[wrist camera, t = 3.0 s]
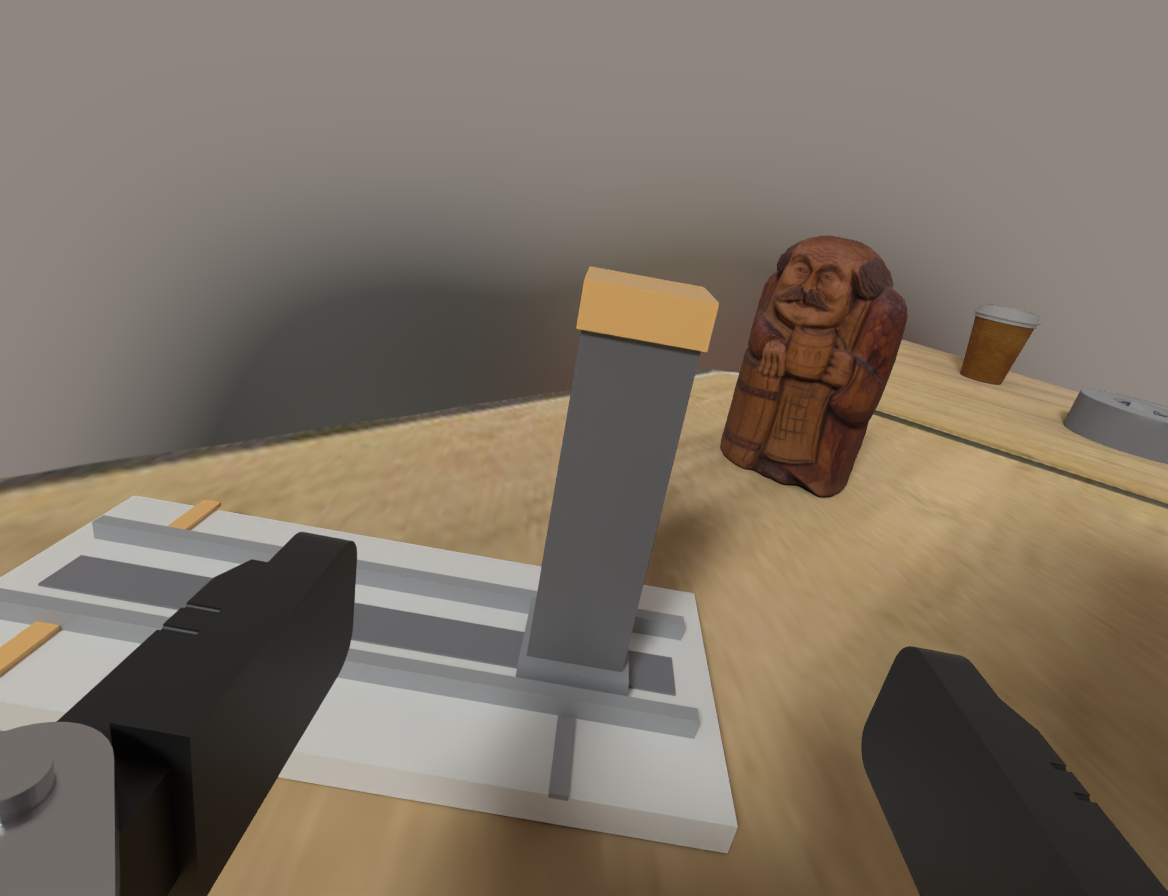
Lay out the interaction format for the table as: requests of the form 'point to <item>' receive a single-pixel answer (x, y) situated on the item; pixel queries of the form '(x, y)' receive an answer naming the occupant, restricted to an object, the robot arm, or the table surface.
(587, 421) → the fader
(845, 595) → the table surface
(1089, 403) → the tape roll
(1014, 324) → the disposable coffee cup
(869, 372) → the wooden figurine
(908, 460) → the table surface
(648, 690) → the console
